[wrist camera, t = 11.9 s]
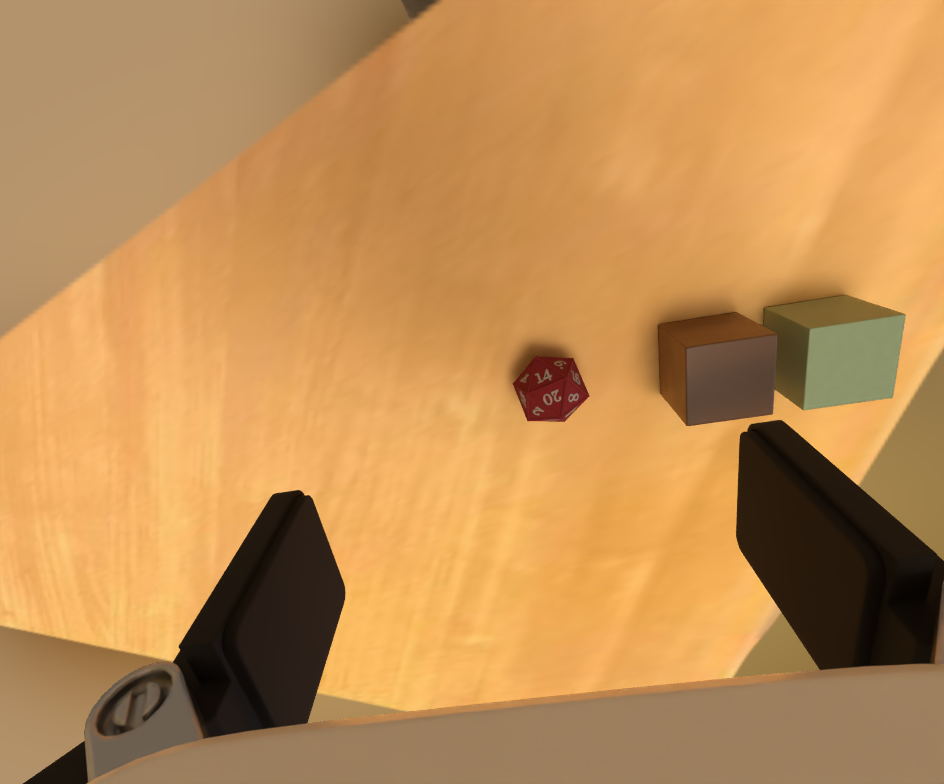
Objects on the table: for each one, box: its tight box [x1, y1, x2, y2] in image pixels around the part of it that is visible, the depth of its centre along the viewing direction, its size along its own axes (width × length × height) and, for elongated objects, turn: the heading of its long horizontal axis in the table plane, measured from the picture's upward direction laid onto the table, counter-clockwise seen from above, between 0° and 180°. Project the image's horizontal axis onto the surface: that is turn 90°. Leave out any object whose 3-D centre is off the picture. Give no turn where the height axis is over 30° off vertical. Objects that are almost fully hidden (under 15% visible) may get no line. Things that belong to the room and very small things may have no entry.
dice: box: [513, 356, 589, 422], centre depth 30 cm, size 4×4×4 cm
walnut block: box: [658, 312, 777, 426], centre depth 29 cm, size 4×4×4 cm
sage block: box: [764, 295, 906, 410], centre depth 28 cm, size 4×4×4 cm
